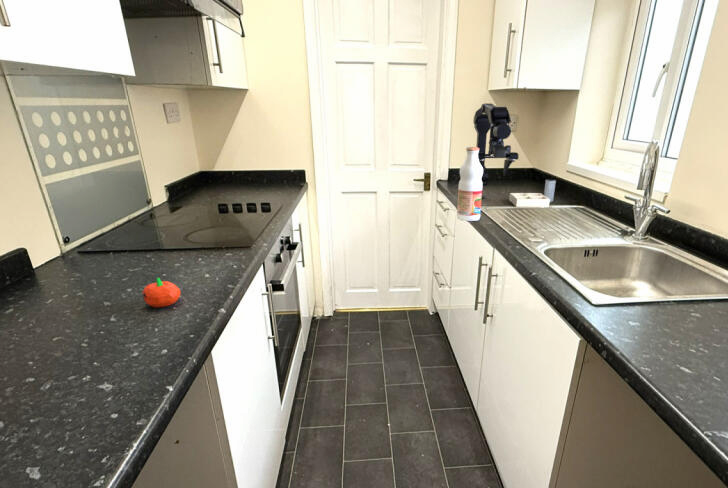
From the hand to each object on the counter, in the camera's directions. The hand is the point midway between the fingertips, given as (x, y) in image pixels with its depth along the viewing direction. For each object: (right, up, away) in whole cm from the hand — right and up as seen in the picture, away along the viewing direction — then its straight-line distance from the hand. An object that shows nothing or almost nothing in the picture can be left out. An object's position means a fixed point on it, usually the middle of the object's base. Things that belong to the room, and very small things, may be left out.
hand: (493, 176), depth 178 cm
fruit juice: (-13, -20, -10) cm, 26 cm away
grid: (+21, -9, +18) cm, 28 cm away
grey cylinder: (+32, -7, +23) cm, 39 cm away
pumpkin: (-95, -50, -84) cm, 136 cm away
